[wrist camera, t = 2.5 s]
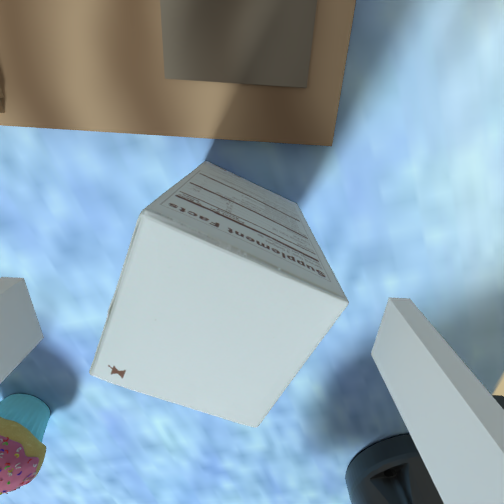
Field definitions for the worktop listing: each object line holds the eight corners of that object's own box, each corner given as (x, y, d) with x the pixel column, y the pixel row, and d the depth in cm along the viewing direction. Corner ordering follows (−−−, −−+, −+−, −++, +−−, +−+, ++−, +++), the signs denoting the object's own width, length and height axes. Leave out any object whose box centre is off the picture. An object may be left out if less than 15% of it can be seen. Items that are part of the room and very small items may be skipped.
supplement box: (255, 281, 23) (256, 436, 12) (170, 244, 22) (78, 379, 11) (300, 202, 21) (358, 305, 9) (205, 155, 19) (133, 206, 8)
